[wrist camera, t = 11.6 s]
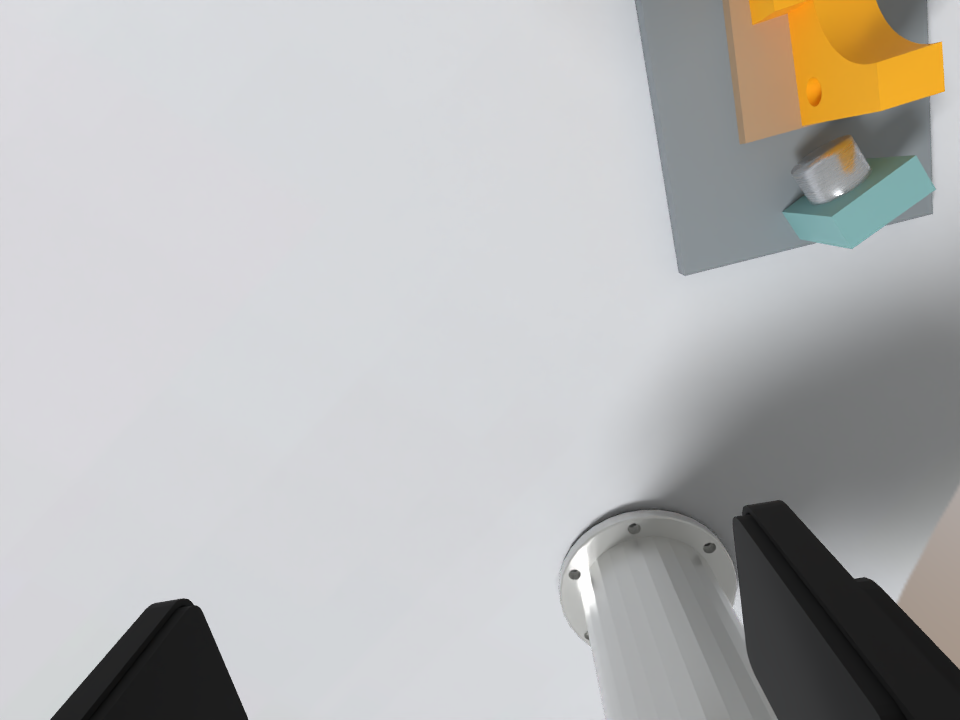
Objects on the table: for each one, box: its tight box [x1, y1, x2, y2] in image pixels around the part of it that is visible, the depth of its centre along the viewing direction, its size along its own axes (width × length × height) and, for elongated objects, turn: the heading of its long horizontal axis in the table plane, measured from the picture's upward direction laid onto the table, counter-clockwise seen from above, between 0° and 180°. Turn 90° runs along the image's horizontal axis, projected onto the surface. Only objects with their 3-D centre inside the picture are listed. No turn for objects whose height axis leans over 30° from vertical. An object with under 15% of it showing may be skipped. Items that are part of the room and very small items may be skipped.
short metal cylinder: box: [791, 135, 872, 205], centre depth 29 cm, size 4×3×3 cm, turn 40°
